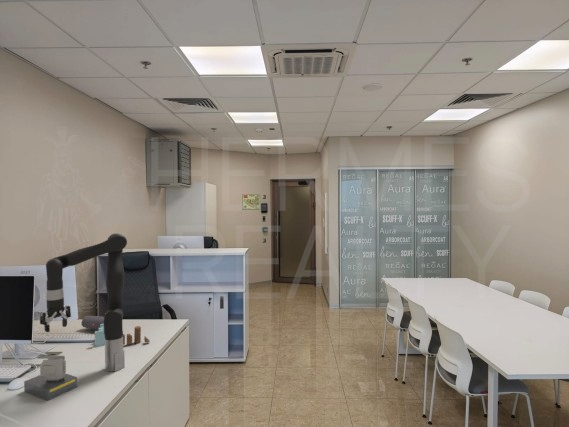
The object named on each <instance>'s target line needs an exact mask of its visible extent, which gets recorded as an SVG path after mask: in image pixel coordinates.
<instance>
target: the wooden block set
mask: <svg viewBox="0 0 569 427" xmlns="http://www.w3.org/2000/svg"><path fill="white" fill-rule="evenodd" d="M141 332H142V327H141V326H140V325H137V326H135V327H134V336H133V335H132V334H131V333H127V334H125V333H123V346H124V345H125V344H126V345H132V344H133V341H134V344H139V343H141V342H142V341H141V340H142V339H141V338H142V337H141V335H142V334H141ZM133 337H134V339H133ZM125 338H126V339H125ZM125 342H126V343H125ZM144 343H150V339H149V338H148V337H147V336H146V335H144Z"/></svg>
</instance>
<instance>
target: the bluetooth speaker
mask: <svg viewBox="0 0 569 427" xmlns="http://www.w3.org/2000/svg"><path fill="white" fill-rule="evenodd" d="M100 324H104V316H99V315H85V316H83V318H82V320H81V326H82V328H86V329H90V330H91V331H94V332H95V331H99V328H100Z"/></svg>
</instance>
